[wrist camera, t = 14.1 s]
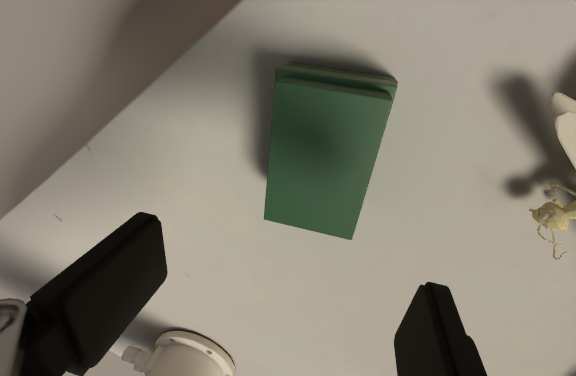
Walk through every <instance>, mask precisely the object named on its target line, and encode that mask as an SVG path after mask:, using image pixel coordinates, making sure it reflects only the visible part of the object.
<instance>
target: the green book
mask: <svg viewBox="0 0 576 376" xmlns="http://www.w3.org/2000/svg"><path fill="white" fill-rule="evenodd" d="M392 103H393V99H392V97H391V94H390V93H389V92H383V91H377V90H370V89H364V88H358V87H351V86H345V85H339V84H332V83H326V82H320V81H313V80H307V79H301V78H294V77H288V76H284V77H282V78H280V79H279V80H277V81H275V90H274V102H273V114H272V126H271V138H270V150H269V162H268V174H267V186H266V199H265V211H264V219H265V220H269V221H273V222H277V223H281V224H286V225H290V226H294V227H298V228H302V229H307V230H311V231H315V232H319V233H323V234H328V235H332V236H336V237H340V238H345V239H349V240H352V237H353V234H354V231H355V227H356V224H357V220H358V217H359V214H360V210H361V207H362V204H363V200H364V197H365V194H366V190H367V187H368V184H369V180H370V177H371V174H372V170H373V167H374V163H375V160H376V157H377V153H378V150H379V147H380V143H381V140H382V137H383V133H384V130H385V127H386V123H387V120H388V116H389V113H390V110H391V106H392Z"/></svg>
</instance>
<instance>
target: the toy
mask: <svg viewBox="0 0 576 376" xmlns="http://www.w3.org/2000/svg"><path fill="white" fill-rule="evenodd" d="M551 111H552V115H553V119H554V124H555V128H556V132H557V135H558V138H559V141H560V143H561V145H562V147H563V148H564V150H565V152H566V153H567V155H568V157H569V159H570V160H571V162H572V164H573V166H574V168H575V170H576V101H575V100H574V99H572V98H570V97H568V96H566V95H564V94H562V93H561V92H555V93H554V94H553V95H552V96H551ZM554 186H556V187H558V188H560V189H562V190H564V191H566V192H568V193H570V194H572V195H574V196H576V193H575V192H574V191H572V190H570V189H567V188H565V187H563V186H560V185H559V184H558V183H551V184H550V190H549V191H548V192H547V193H549V194H550V195H554V194H555V193H554ZM552 202H556V203H557V204H558V205H559V206H560V207H559V206H558V205H556V204H554V203H552ZM552 202H548V203H545V204H544V205H543V206H542V207H541V208H538V209H537V210H533V209H530V210H529V211H532V216H533V218H534V219H535V220H536V221H537V222H538V223H540V225H539V226H540V227H541V225H544V227H545V228H546V229H549V230H551V231H552V235H553V231H565V230H567V227H568V219H576V200H575V201H574V202H572V203H570V204H569V205H567V206H564V205H563V204H562V203H561V202H559V201H558V199H554V200H552ZM539 226H538V229H537V230H538V233H539V229H540V227H539ZM539 235H540V233H539ZM541 237H542V238H543V239H545V238H544V237H543V236H541ZM545 240H546V239H545ZM553 241H554V243H553V242H551V241H548V242H550V243H552V244H554V251H553V257H554V258H555V250H556V249H555V245H559V246H563V245H560V244H555V239H554V235H553ZM566 253H567V252H565V253H563V254H562V255H564V254H566ZM562 255H560V257H559V258H555V259H560V258H561V257H562Z"/></svg>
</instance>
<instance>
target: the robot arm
mask: <svg viewBox="0 0 576 376" xmlns="http://www.w3.org/2000/svg"><path fill="white" fill-rule="evenodd" d="M166 277H167V265H166V257H165V249H164V242H163V234H162V227H161V222H160V221H159V220H158V218H157V216H155V215H152V214H148V213H144V212H139V213H137V214H136V215H134V216H133V217H132V218H130V219H129V220H128V221H127V222H125V223H124V224H123V225H121V226H120V227H119V228H118V229H116V230H115V231H114V232H112V233H111V234H110V235H109V236H107V237H106V238H105V239H103V240H102V241H101V242H100V243H98V244H97V245H96V246H94V247H93V248H92V249H91V250H89V251H88V252H87V253H85V254H84V255H83V256H82V257H80V258H79V259H78V260H76V261H75V262H74V263H73V264H71V265H70V266H69V267H67V268H66V269H65V270H64V271H62V272H61V273H60V274H58V275H57V276H56V277H55V278H53V279H52V280H51V281H49V282H48V283H47V284H45V285H44V286H43V287H42V288H40V289H39V290H38V291H36V292H35V293H34V294H33V295H31V296H30V298H31V300H30V301H29V302H28V303H27V304H25V303H24V302H23V301H21V300H19V299H10V298H9V299H3V300H0V376H62V375H63V374H64V373H65V372H66V371H67V372H69V373H73V374H75V375H78V376H83V375H84V374H85V373H86V371H87V370H88V369H89V368H92V367H94V366H95V365H97V364H98V362H99V361H100V360H101V359H102V358H103V356H104V355H105V353H106V352H107V351H108V350H109V349H110V348H111V347H112V345H113V344H114V343H115V342H116V340H117V339H118V338H119V337H120V335H121V334H122V333H123V332H124V330H125V329H126V328H127V327H128V326H129V324H130V323H131V322H132V321H133V319H134V318H135V317H136V316H137V314H138V313H139V312H140V311H141V309H142V308H143V307H144V306H145V304H146V303H147V302H148V301H149V300H150V298H151V297H152V296H153V295H154V293H155V292H156V291H157V290H158V288H159V287H160V286H161V285H162V283H163V282H164V281H165V279H166ZM394 349H395V357H396V366H397V374H398V376H487V374H486V371H485V369H484V366H483V363H482V361H481V358H480V356H479V353H478V350H477V348H476V345H475V343H474V341H473V340H472V338H471V337H470V336H468V335H466V333H465V330H464V327H463V324H462V322H461V319H460V316H459V313H458V311H457V308H456V305H455V303H454V300H453V297H452V294H451V292H450V289H449V288H448V287H447V286H444V285H440V284H436V283H432V282H427V283H426V284H425V285H420V286H419V288H418V290H417V292H416V294H415V296H414V298H413V300H412V302H411V304H410V306H409V308H408V310H407V312H406V314H405V316H404V318H403V320H402V322H401V324H400V326H399V328H398V330H397V332H396V334H395V338H394ZM122 360H124V361H127V362H130V363H132V364H135V365H134V370H136V371H139V372H144V373H145V376H235V366H234V364H233V362H232V360H231V358H230V357H229V356H228V355H227V354H226V353H225V352H224V351H223V350H222V349H221V348H220V347H219V346H217V345H216V344H214V343H213V342H211V341H210V340H208V339H206V338H204V337H201V336H199V335H196V334H193V333H189V332H185V331H169V332H165V333H163V334H162V335H161V336H160V337H159V338H158V340H157V341H156V343H155V345H154V350H149V351H148V352H146V351H143V350H142V349H140V348H137V347H134V346H128V347H127V348H126V349H125V351H124V353H123V355H122Z"/></svg>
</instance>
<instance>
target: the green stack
mask: <svg viewBox="0 0 576 376" xmlns="http://www.w3.org/2000/svg"><path fill="white" fill-rule="evenodd" d="M284 76H288V77H294V78H301V79H307V80H313V81H320V82H326V83H332V84H339V85H345V86H351V87H358V88H364V89H370V90H377V91H383V92H389V93H390V94H391V97H392V99H394V96H395V93H396V89H397V83H398V82H397V80H396V79H395V78H394V77H388V76H381V75H374V74H368V73H361V72H354V71H348V70H341V69H334V68H328V67H321V66H314V65H308V64H301V63H294V62H289V63H287V64H285V65H282V66H280V67H278V68H277V69H276V80H275V81H277V80H279V79H280V78H282V77H284Z"/></svg>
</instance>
